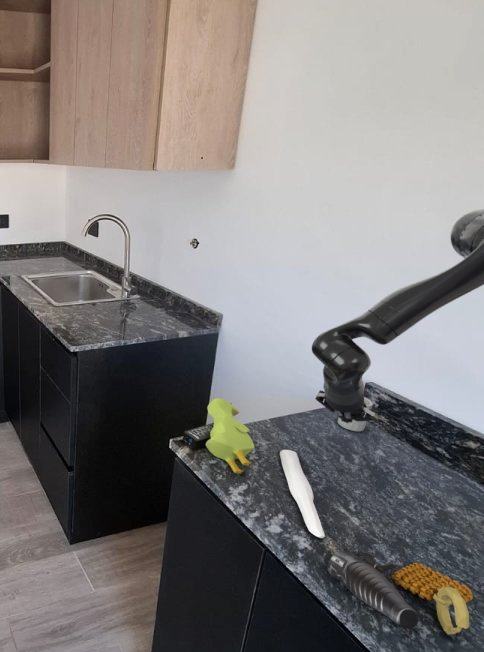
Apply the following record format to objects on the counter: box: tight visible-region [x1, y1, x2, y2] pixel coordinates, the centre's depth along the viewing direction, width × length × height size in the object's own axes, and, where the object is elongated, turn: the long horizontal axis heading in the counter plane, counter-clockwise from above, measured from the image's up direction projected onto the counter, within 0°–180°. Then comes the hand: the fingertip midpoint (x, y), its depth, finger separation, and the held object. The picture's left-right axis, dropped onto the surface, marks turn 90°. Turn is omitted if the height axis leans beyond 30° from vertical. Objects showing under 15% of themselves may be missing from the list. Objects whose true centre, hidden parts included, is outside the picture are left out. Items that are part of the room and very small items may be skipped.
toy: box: [205, 397, 255, 475], centre depth 110 cm, size 6×17×20 cm
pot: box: [337, 396, 373, 432], centre depth 123 cm, size 6×6×8 cm
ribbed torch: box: [327, 549, 419, 629], centre depth 75 cm, size 9×13×3 cm
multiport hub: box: [182, 422, 214, 450], centre depth 115 cm, size 4×11×2 cm, turn 117°
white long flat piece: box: [279, 449, 326, 539], centre depth 99 cm, size 28×4×2 cm, turn 163°
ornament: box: [391, 562, 474, 635], centre depth 73 cm, size 7×10×15 cm
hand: (346, 419), depth 119 cm, fingers closed
